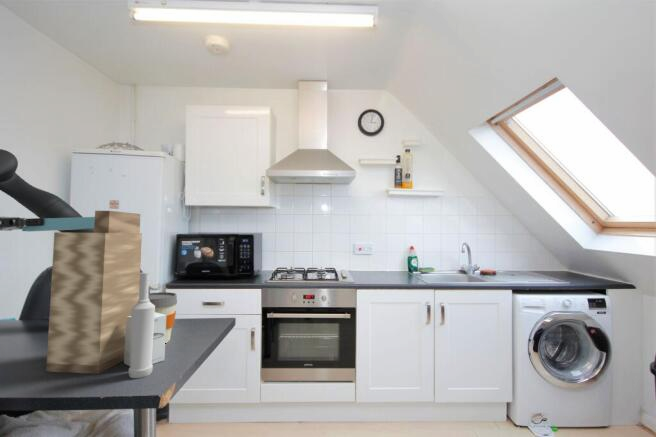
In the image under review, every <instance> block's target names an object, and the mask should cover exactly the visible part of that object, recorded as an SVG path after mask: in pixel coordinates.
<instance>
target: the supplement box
mask: <svg viewBox="0 0 656 437" xmlns="http://www.w3.org/2000/svg"><path fill="white" fill-rule="evenodd" d="M165 336H166V315H165V314H161V313H156V312H155V317H154V333H153V349H152V365H154V364H158V363H161V362H164V361H165V357H166V355H165V353H166V344H165ZM130 352H131V316H128V317H126V332H125V352H124V360H123V363H124V365H126V366H128V367H130Z"/></svg>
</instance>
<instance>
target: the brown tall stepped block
mask: <svg viewBox="0 0 656 437" xmlns="http://www.w3.org/2000/svg"><path fill="white" fill-rule="evenodd" d="M94 217H95V222H94V233H63V232H60V231H57V232H55V231H54V233H53V234H54V235H53V250H52V251H53V253H52V268H51V269H52V270H51V281H50V282H51V285H50V303H49V318H48V319H49V320H48V333H47V334H48V335H47V354H46V369H45V370H46V372H52V373H53V372H55V373H74V374H76V373H77V374H94V375H95V374H96V375H99V374H101V373H103V372H105V371H106V370H108V369H111V368H112V367H114V366H116V365H118V364H119V363H122V362H124V352H125V332H126V317H128V316H131V308H132V307H133V306H134V305H135V304H136V303H137V302H138V300H139V294H140V273H141V262H142V261H141V260H142V258H141V257H142V241H143V240H142V239H143V238H142V237H143V234H142V233H141V232H140V230H141V213H133V212H127V211H126V212H124V211H115V210H95V211H94Z"/></svg>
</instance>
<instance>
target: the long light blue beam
mask: <svg viewBox="0 0 656 437" xmlns="http://www.w3.org/2000/svg"><path fill="white" fill-rule="evenodd" d="M94 222H95V216H85V217H83V216H82V217H76V218H44V225H43V226H27V227H22V229H21V231H22V232H29V233H30V232H49V231H58V230H75V229H94Z"/></svg>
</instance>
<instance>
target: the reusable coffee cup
mask: <svg viewBox="0 0 656 437" xmlns="http://www.w3.org/2000/svg"><path fill="white" fill-rule="evenodd" d="M177 296H178V295H177V293H175V292H170V291H169V292H168V291H167V292H163V291H162V292H161V291H160V292H148V299H149V300H150V302H151V303H152V304H153V305H155V312H156V313H161V314H165V315H166V336H165V343H167V342H168V341H169V340H170V341H171V334H172V330H173V327H174V325H175V320H176V315H177V311H176V306H177V303H178V298H177ZM170 341H169V342H170ZM167 344H168V343H167Z"/></svg>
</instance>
